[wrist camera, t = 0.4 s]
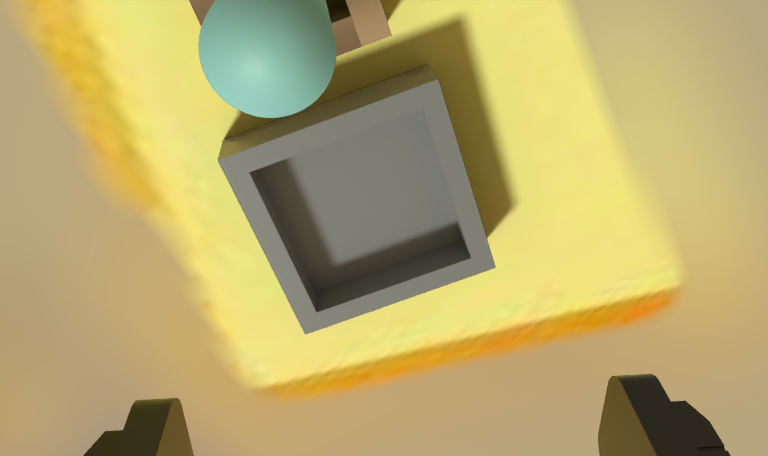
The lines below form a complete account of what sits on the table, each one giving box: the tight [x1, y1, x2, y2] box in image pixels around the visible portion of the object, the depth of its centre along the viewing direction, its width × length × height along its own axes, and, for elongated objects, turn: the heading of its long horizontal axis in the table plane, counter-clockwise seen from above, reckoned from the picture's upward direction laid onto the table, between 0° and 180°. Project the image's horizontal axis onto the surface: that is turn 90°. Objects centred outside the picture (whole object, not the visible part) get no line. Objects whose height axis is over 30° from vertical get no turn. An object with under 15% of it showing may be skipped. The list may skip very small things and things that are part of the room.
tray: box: [218, 64, 496, 334], centre depth 32 cm, size 10×10×2 cm
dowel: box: [199, 0, 336, 118], centre depth 22 cm, size 3×3×14 cm
